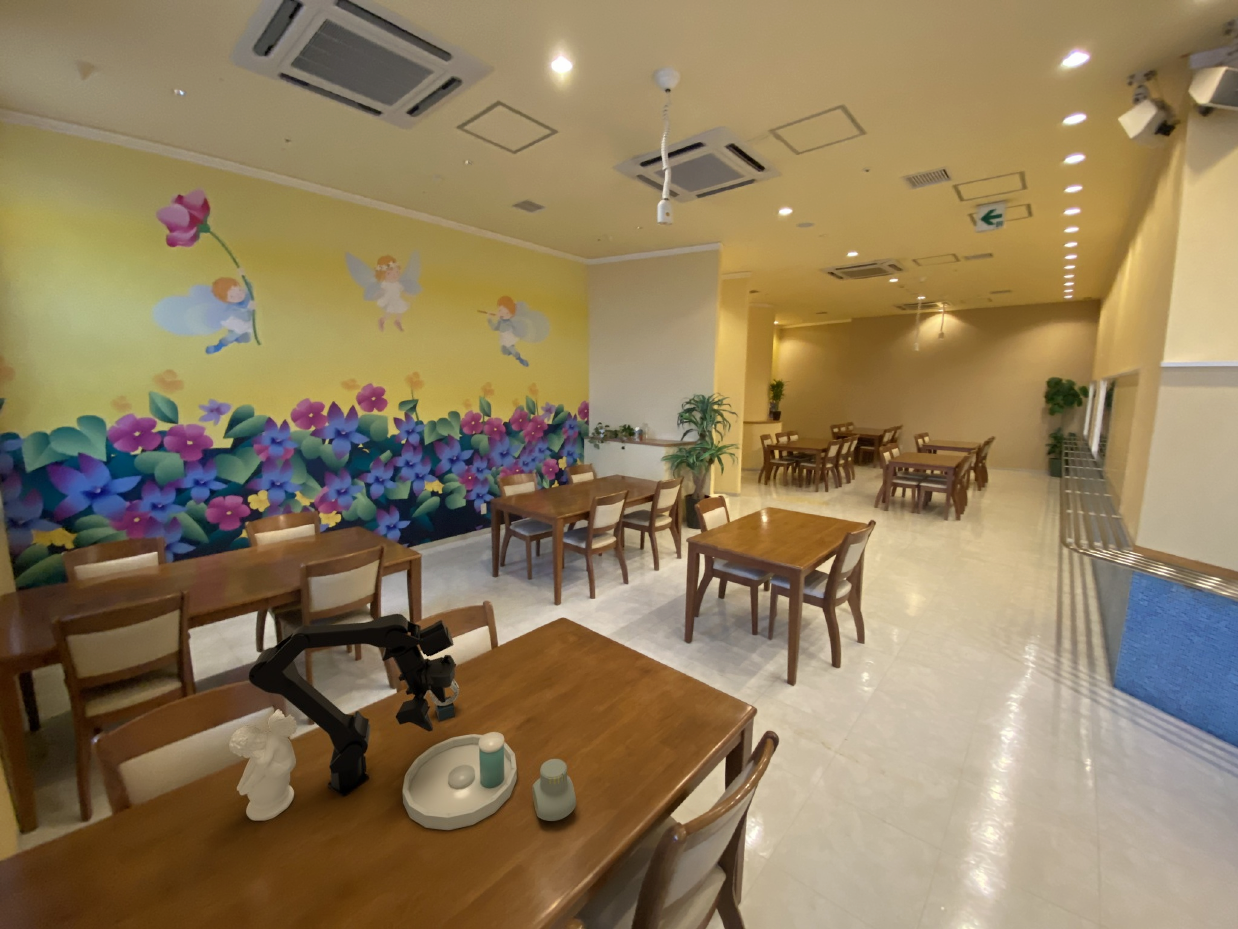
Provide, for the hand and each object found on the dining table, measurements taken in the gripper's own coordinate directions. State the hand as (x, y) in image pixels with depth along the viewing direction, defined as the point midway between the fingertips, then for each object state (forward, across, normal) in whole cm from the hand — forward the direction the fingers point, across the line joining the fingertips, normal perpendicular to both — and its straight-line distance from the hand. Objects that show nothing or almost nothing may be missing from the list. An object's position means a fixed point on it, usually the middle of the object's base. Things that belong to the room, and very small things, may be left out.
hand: (437, 715), depth 121 cm
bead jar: (+14, -8, -11) cm, 20 cm away
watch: (+12, +16, +9) cm, 23 cm away
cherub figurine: (0, -13, +34) cm, 37 cm away
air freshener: (+20, -15, -25) cm, 35 cm away
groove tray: (+13, -8, -4) cm, 16 cm away
